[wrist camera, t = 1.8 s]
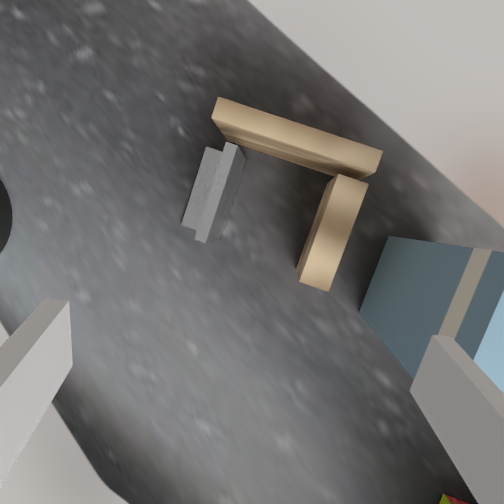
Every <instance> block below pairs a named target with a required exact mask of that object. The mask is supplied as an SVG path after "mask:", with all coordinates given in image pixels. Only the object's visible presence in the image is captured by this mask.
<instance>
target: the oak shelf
mask: <svg viewBox="0 0 504 504" xmlns="http://www.w3.org/2000/svg"><path fill="white" fill-rule="evenodd" d="M211 118H212V119H213V121H214V122H215V123H216V125H217V126H218V128H219V129H220V131H221V132H222V133H223V135H224V136H225V138H226V139H227V141H230V142H233V143H236V144H239V145H242V146H245V147H247V148H250V149H253V150H256V151H259V152H262V153H265V154H268V155H271V156H274V157H277V158H280V159H283V160H286V161H289V162H292V163H295V164H298V165H301V166H304V167H307V168H310V169H313V170H316V171H319V172H322V173H325V174H328V175H331V176H334V178H333V179H332V180H330V181H329V182H328V183H327V185H326V188H325V191H324V193H323V196H322V199H321V202H320V204H319V207H318V210H317V213H316V215H315V218H314V221H313V224H312V226H311V229H310V232H309V235H308V238H307V240H306V243H305V246H304V249H303V251H302V254H301V257H300V260H299V262H298V265H297V268H296V271H297V275H298V279H299V282H302V283H305V284H307V285H310V286H313V287H316V288H319V289H321V290H324V291H327V292H328V291H329V289H330V286H331V283H332V281H333V278H334V275H335V273H336V270H337V267H338V265H339V262H340V259H341V257H342V254H343V251H344V249H345V246H346V244H347V241H348V238H349V236H350V233H351V230H352V228H353V225H354V222H355V220H356V217H357V214H358V212H359V209H360V206H361V204H362V201H363V198H364V196H365V193H366V190H367V188H368V185H369V184H368V183H365V182H362V181H360V180H362V179H363V178H365V177H367V176H369V175H371V174H373V173H375V172H376V169H377V167H378V164H379V161H380V159H381V156H382V153H383V151H382V150H379V149H376V148H373V147H370V146H366V145H363V144H360V143H357V142H354V141H351V140H348V139H345V138H342V137H339V136H336V135H333V134H330V133H327V132H324V131H321V130H318V129H315V128H312V127H309V126H306V125H303V124H300V123H297V122H294V121H291V120H288V119H285V118H282V117H279V116H276V115H272V114H269V113H266V112H263V111H260V110H257V109H254V108H251V107H248V106H245V105H242V104H239V103H236V102H233V101H230V100H227V99H224V98H221V97H218V99H217V102H216V105H215V108H214V111H213V114H212V117H211Z"/></svg>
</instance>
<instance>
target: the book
mask: <svg viewBox="0 0 504 504" xmlns="http://www.w3.org/2000/svg"><path fill="white" fill-rule="evenodd" d="M359 314H360V315H361V316H362V317H363V319H364V320H365V321H366V322H367V323H368V325H369V326H370V327H371V328H372V330H373V331H374V332H375V333H376V334H377V336H378V337H379V338H380V339H381V341H382V342H383V343H384V344H385V345H386V347H387V348H388V349H389V350H390V352H391V353H392V354H393V355H394V357H395V358H396V359H397V360H398V361H399V363H400V364H401V365H402V366H403V368H404V369H405V370H406V371H407V372H408V374H409V375H410V376H411V377H412V379H413V380H414V379H415V376H416V374H417V371H418V369H419V366H420V364H421V361H422V359H423V357H424V354H425V352H426V349H427V347H428V344H429V342H430V339H431V337H432V335H439V336H450V337H452V338H453V339H454V340H455V341H456V342H457V343H458V345H459V346H460V347H461V348H462V349H463V350H464V351H465V352H466V353H467V354H468V355H469V356H470V358H471V359H472V360H473V361H474V362H475V363H476V364H477V365H478V366H479V367H480V368H481V369H482V371H483V372H484V373H485V374H486V375H487V376H488V377H489V378H490V379H491V380H492V381H493V383H494V384H495V385H496V386H497V387H498V388H499V389H500V390H501V391H502V392H503V393H504V253H502V252H496V251H493V250H489V249H482V248H475V247H474V248H469V247H462V246H455V245H448V244H442V243H435V242H428V241H421V240H415V239H408V238H401V237H394V236H388V239H387V241H386V244H385V247H384V249H383V252H382V254H381V257H380V259H379V262H378V265H377V267H376V270H375V272H374V275H373V278H372V280H371V283H370V285H369V288H368V290H367V293H366V296H365V298H364V301H363V303H362V306H361V308H360V311H359Z"/></svg>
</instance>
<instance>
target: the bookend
mask: <svg viewBox="0 0 504 504" xmlns="http://www.w3.org/2000/svg"><path fill="white" fill-rule="evenodd" d="M246 162H247V160H246V158H245V157H244V155H243V153H242V152H241V150H240V148H239V147H238V145H235V144H232V143H229V142H226V143H225V146H224V150H223V152H221V151H218V150H215V149H212V148H209V147H206V149H205V152H204V155H203V158H202V161H201V164H200V168H199V171H198V174H197V177H196V180H195V183H194V186H193V189H192V193H191V196H190V199H189V202H188V205H187V208H186V211H185V215H184V218H183V221H182V224H181V225H183V226H186V227H189V228H191V229H194V230H197V233H196V236H195V240H198V241H201V242H204V243H208V242H211V241H215V240H218V239H221V237H222V234H223V231H224V228H225V225H226V222H227V219H228V216H229V213H230V210H231V207H232V204H233V201H234V198H235V195H236V192H237V189H238V186H239V183H240V180H241V177H242V174H243V171H244V168H245V165H246Z"/></svg>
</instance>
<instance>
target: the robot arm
mask: <svg viewBox="0 0 504 504" xmlns="http://www.w3.org/2000/svg"><path fill="white" fill-rule="evenodd" d="M11 226H12V210H11V204H10V200H9V197H8V194H7V192H6V190H5V188H4V186H3V184H2V183H1V181H0V253H1V251H2V250H3V248H4V247H5V245H6V243H7V241H8V238H9V235H10V231H11ZM72 366H73V362H72V345H71V327H70V309H69V301H67V300H57V299H46V298H45V299H44V300H43V301H42V302H41V304H40V305H39V306H38V307H37V308H36V309H35V310H34V311H33V312H32V313H31V314H30V315H29V317H28V318H27V319H26V320H25V321H24V322H23V323H22V324H21V325H20V326H19V327H18V329H17V330H16V331H15V332H14V333H13V334H12V335H11V336H10V337H9V338H8V339H7V340H6V342H5V343H4V344H3V345H2V346H1V347H0V488H1V486H2V485H3V483H4V481H5V480H6V478H7V476H8V474H9V473H10V471H11V469H12V467H13V466H14V464H15V463H16V461H17V459H18V457H19V456H20V454H21V452H22V451H23V449H24V447H25V445H26V444H27V442H28V440H29V439H30V437H31V435H32V434H33V432H34V430H35V429H36V427H37V425H38V423H39V422H40V420H41V418H42V416H43V415H44V413H45V412H46V410H47V408H48V406H49V405H50V403H51V401H52V400H53V398H54V396H55V395H56V393H57V391H58V389H59V388H60V386H61V384H62V383H63V381H64V379H65V378H66V376H67V374H68V372H69V371H70V369H71V367H72ZM410 393H411V394H412V396H413V397H414V399H415V401H416V402H417V404H418V406H419V407H420V409H421V411H422V412H423V414H424V416H425V417H426V419H427V421H428V422H429V424H430V425H431V427H432V429H433V430H434V432H435V434H436V435H437V437H438V439H439V440H440V442H441V444H442V445H443V447H444V448H445V450H446V452H447V453H448V455H449V457H450V458H451V460H452V462H453V463H454V465H455V467H456V468H457V470H458V471H459V473H460V475H461V476H462V478H463V480H464V481H465V483H466V485H467V486H468V488H469V490H470V491H471V493H472V494H473V496H474V498H475V499H476V501H477V503H478V504H504V393H503V392H502V391H501V390H500V389H499V388H498V387H497V386H496V385H495V384H494V383H493V381H492V380H491V379H490V378H489V377H488V376H487V375H486V374H485V373H484V372H483V371H482V369H481V368H480V367H479V366H478V365H477V364H476V363H475V362H474V361H473V360H472V359H471V358H470V356H469V355H468V354H467V353H466V352H465V351H464V350H463V349H462V348H461V347H460V346H459V345H458V343H457V342H456V341H455V340H454V339H453V338H452V337H450V336H439V335H432V337H431V339H430V342H429V344H428V347H427V349H426V352H425V354H424V357H423V359H422V361H421V364H420V366H419V369H418V371H417V374H416V376H415V379H414V381H413V383H412V386H411V388H410Z"/></svg>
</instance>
